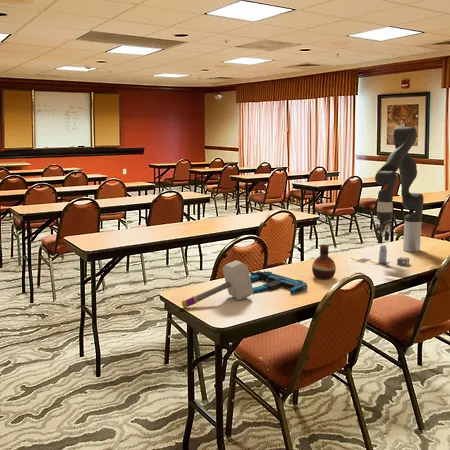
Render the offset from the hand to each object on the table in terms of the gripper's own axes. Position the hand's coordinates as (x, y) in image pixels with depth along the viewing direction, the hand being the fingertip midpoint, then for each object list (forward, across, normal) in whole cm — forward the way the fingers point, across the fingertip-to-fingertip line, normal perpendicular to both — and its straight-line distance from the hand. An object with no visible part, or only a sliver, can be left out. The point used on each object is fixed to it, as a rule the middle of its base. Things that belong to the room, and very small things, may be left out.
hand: (383, 242), depth 273 cm
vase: (+13, +37, -14) cm, 41 cm away
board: (+13, 0, -8) cm, 15 cm away
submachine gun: (+14, +64, -28) cm, 71 cm away
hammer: (+14, +96, -31) cm, 102 cm away
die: (+13, -4, +9) cm, 16 cm away
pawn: (+11, 0, 0) cm, 11 cm away
